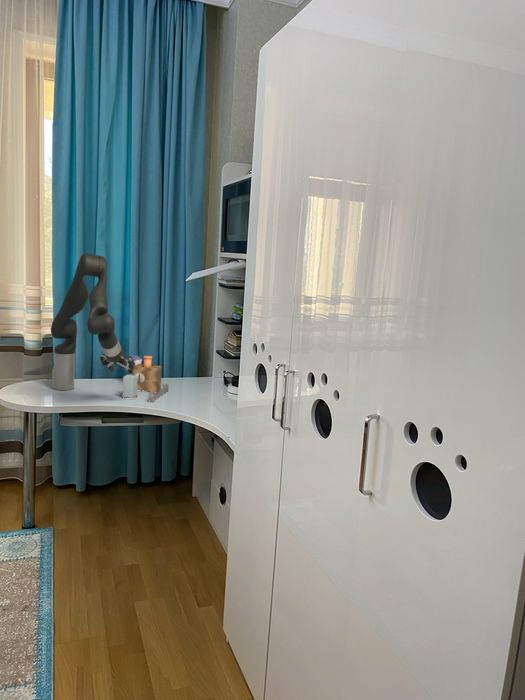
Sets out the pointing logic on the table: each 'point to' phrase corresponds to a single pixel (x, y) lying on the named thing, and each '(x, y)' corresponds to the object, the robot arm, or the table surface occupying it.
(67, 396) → the table surface
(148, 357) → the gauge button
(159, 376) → the end cabinet
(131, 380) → the pale grey rectangular block
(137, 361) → the toy
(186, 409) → the table surface
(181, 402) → the table surface
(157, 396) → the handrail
